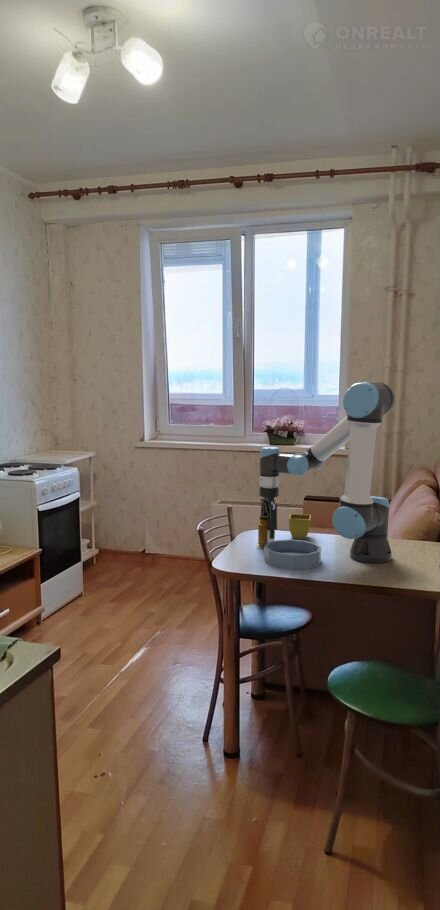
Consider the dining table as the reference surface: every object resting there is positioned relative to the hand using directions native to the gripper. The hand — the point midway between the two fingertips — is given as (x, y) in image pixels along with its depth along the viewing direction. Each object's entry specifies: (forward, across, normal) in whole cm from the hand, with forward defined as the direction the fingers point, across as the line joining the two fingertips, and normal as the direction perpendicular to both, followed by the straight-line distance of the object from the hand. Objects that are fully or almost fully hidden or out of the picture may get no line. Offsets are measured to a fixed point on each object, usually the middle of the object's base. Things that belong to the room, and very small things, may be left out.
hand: (268, 543), depth 231 cm
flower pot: (+1, -10, +17) cm, 20 cm away
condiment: (+1, 0, 0) cm, 1 cm away
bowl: (+1, +20, +3) cm, 20 cm away
